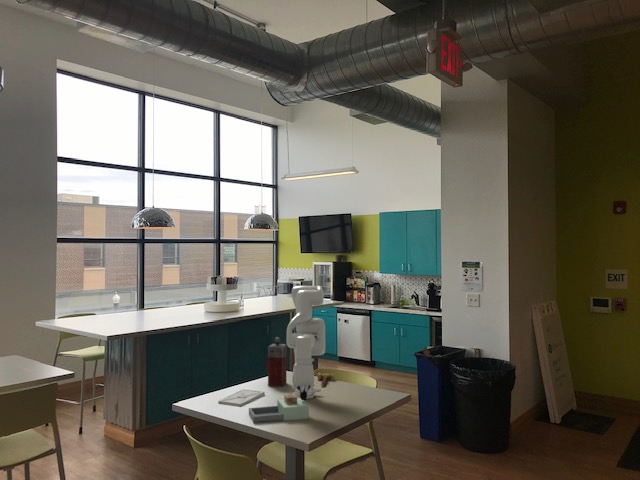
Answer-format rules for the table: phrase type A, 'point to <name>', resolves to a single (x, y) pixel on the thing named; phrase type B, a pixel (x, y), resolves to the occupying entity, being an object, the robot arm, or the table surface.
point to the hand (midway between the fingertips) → (303, 399)
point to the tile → (290, 399)
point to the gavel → (325, 378)
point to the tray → (265, 414)
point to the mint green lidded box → (293, 409)
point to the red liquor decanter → (276, 363)
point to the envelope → (241, 397)
